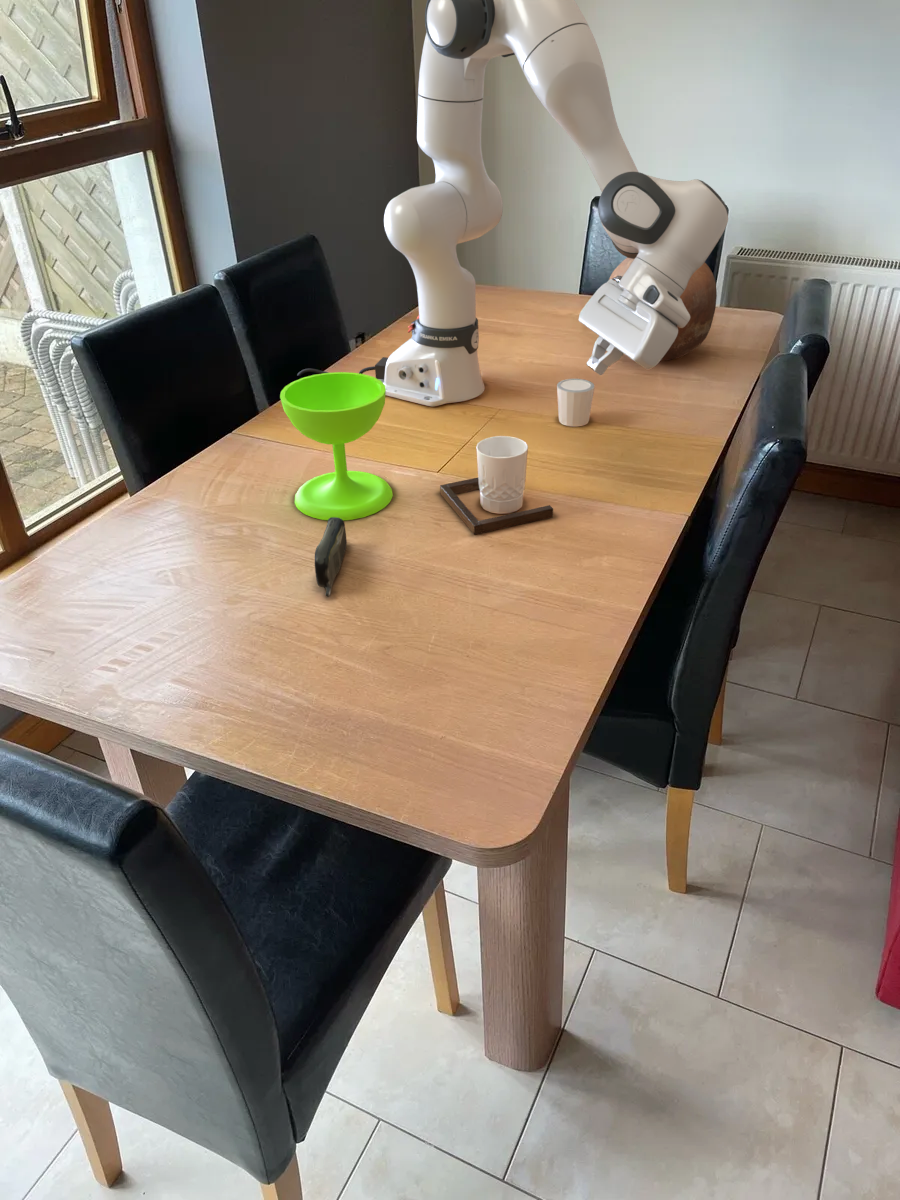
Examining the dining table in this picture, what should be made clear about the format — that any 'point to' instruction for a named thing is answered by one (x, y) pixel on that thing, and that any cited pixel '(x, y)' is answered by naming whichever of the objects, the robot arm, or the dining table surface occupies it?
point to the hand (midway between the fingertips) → (593, 370)
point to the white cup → (502, 473)
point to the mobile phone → (330, 553)
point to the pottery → (689, 309)
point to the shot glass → (574, 401)
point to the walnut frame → (489, 524)
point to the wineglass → (337, 441)
